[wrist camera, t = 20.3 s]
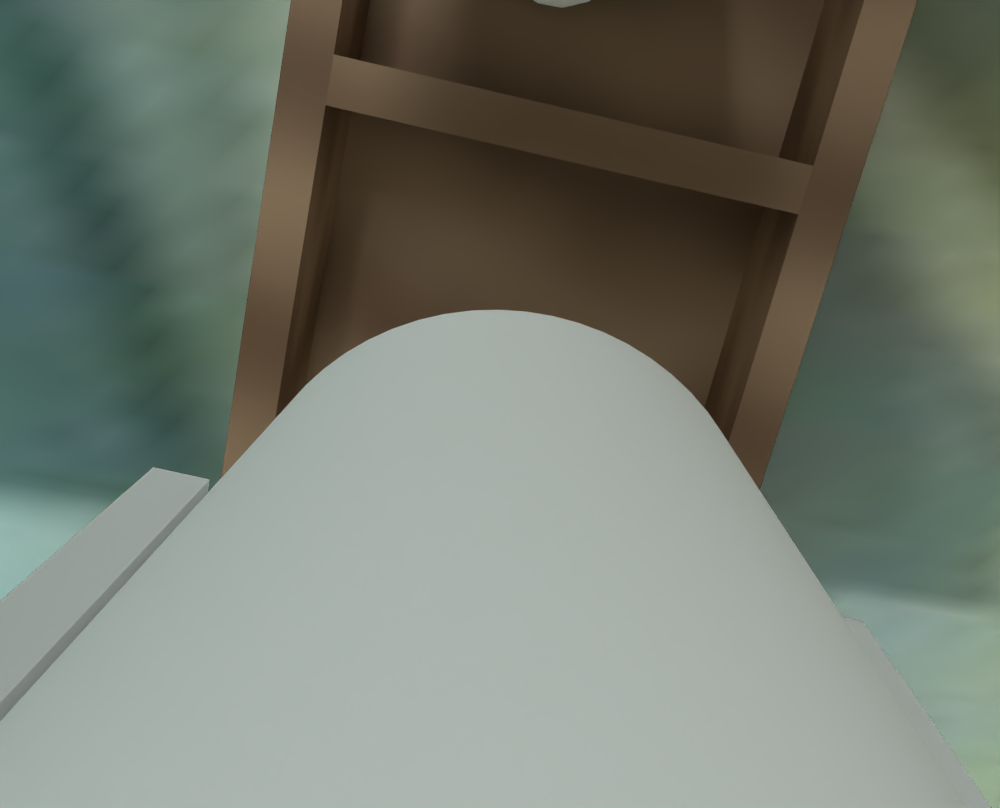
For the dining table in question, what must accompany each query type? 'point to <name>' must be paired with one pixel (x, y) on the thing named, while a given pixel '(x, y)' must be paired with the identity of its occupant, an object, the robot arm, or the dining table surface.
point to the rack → (566, 183)
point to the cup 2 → (561, 2)
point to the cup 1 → (473, 610)
